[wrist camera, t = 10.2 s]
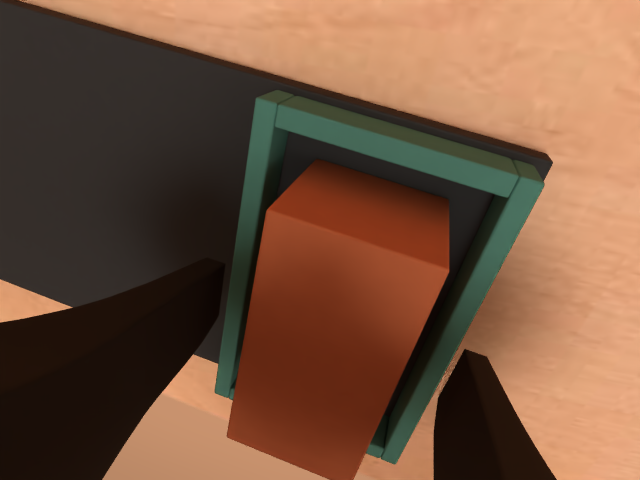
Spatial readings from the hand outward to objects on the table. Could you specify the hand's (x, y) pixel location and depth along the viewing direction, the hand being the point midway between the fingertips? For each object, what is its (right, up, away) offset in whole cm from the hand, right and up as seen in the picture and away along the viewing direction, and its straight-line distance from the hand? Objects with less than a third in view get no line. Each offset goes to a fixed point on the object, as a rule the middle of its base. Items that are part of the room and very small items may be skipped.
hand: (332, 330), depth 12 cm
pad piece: (+1, +1, +2) cm, 2 cm away
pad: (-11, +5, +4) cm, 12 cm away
